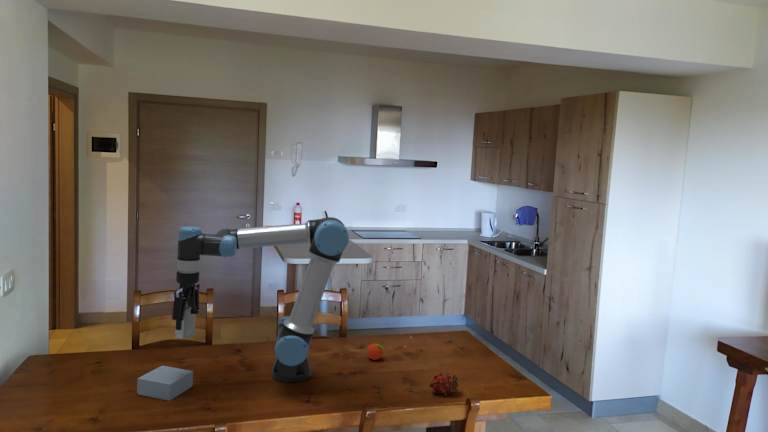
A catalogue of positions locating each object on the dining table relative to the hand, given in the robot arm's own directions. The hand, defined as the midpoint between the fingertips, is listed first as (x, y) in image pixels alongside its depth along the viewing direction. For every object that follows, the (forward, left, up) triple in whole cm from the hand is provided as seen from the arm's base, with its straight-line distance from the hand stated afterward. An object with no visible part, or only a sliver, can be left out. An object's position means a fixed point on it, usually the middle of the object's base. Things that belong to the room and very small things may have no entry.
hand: (185, 334), depth 194 cm
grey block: (+6, +2, -20) cm, 21 cm away
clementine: (-61, -49, -20) cm, 81 cm away
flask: (0, 0, 0) cm, 0 cm away
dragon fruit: (-91, -22, -20) cm, 96 cm away
